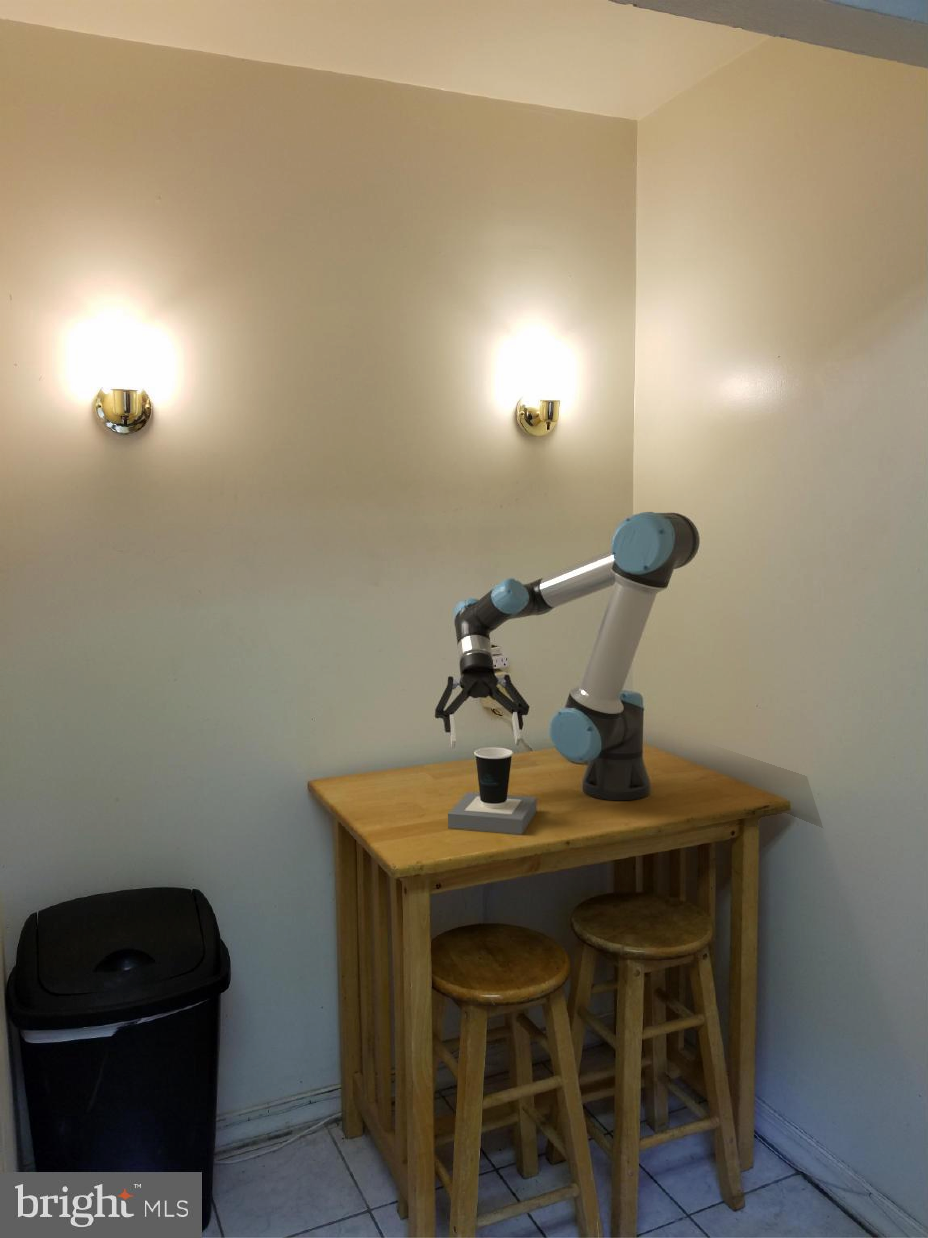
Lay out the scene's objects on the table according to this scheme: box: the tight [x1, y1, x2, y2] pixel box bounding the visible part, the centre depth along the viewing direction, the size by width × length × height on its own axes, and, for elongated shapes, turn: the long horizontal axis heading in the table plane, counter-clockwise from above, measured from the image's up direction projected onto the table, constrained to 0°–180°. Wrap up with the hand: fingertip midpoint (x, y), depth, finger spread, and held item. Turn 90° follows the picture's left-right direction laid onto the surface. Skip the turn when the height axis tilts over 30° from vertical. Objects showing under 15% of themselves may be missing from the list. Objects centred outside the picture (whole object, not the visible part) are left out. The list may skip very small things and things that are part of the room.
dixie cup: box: [473, 747, 514, 808], centre depth 188 cm, size 8×8×11 cm
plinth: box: [447, 791, 538, 836], centre depth 189 cm, size 15×15×3 cm
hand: (486, 743), depth 193 cm, fingers open, 13 cm apart
